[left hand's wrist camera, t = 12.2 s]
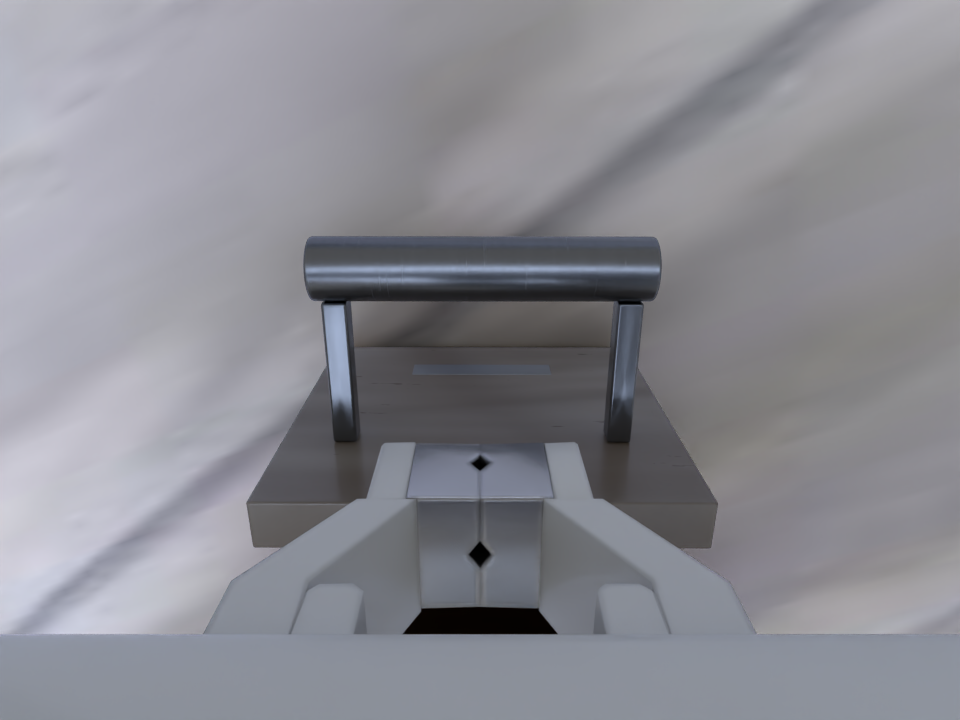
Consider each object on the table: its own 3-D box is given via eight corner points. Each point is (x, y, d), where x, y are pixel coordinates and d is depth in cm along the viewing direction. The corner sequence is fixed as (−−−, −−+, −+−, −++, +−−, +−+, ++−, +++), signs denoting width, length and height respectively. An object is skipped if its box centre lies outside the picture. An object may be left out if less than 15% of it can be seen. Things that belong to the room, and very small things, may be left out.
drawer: (324, 197, 21) (208, 267, 12) (639, 197, 21) (757, 268, 12) (369, 718, 29) (321, 984, 21) (592, 719, 29) (640, 984, 21)
